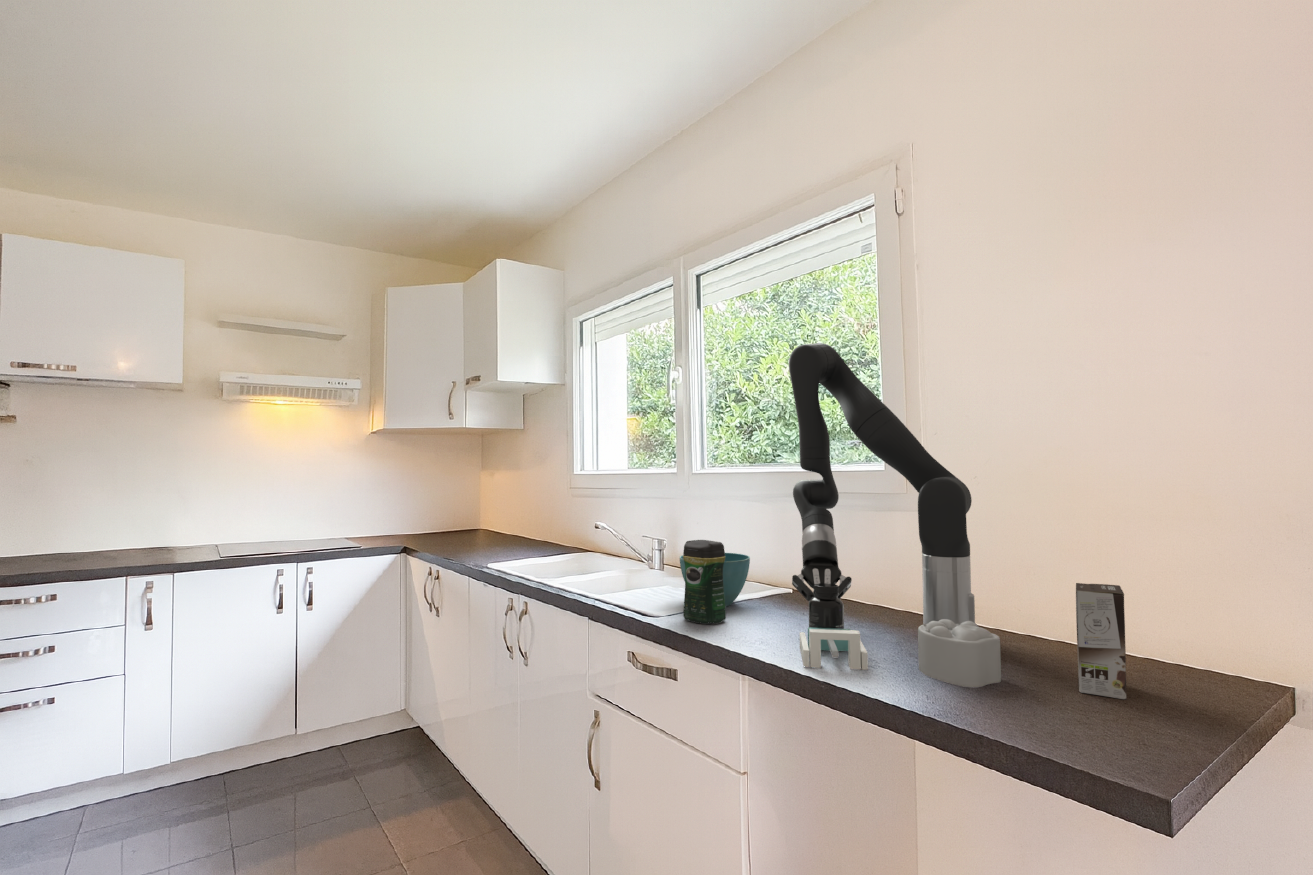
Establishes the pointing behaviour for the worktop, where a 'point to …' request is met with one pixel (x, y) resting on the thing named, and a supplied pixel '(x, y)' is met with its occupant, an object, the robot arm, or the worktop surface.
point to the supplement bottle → (826, 607)
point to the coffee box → (1101, 640)
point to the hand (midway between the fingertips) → (824, 617)
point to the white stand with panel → (855, 646)
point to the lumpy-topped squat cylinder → (959, 653)
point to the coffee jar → (704, 581)
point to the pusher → (832, 643)
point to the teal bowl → (730, 575)
